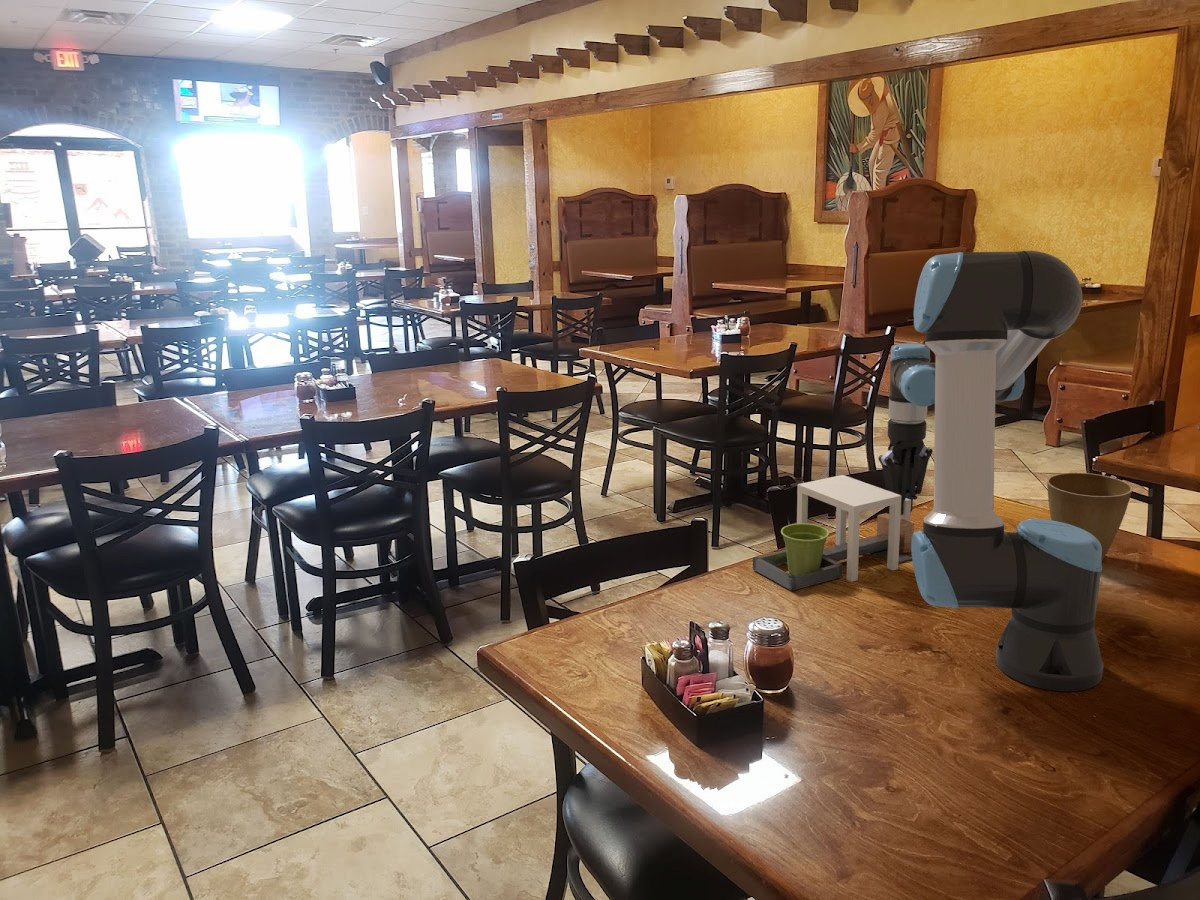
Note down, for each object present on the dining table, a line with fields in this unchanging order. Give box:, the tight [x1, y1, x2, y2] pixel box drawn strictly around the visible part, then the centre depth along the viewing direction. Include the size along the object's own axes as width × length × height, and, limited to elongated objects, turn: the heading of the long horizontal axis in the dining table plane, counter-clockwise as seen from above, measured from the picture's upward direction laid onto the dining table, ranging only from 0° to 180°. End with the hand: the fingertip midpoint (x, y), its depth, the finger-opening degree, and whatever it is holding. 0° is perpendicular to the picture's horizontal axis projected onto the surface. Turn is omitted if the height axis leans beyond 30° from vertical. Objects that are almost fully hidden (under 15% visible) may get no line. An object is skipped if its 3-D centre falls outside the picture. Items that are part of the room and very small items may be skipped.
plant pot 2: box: [1046, 472, 1133, 562], centre depth 183 cm, size 15×15×16 cm
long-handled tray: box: [752, 512, 915, 592], centre depth 187 cm, size 12×33×6 cm, turn 117°
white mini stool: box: [796, 474, 913, 583], centre depth 188 cm, size 17×18×16 cm
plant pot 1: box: [780, 523, 830, 576], centre depth 183 cm, size 9×9×9 cm
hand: (902, 527), depth 194 cm, fingers closed
